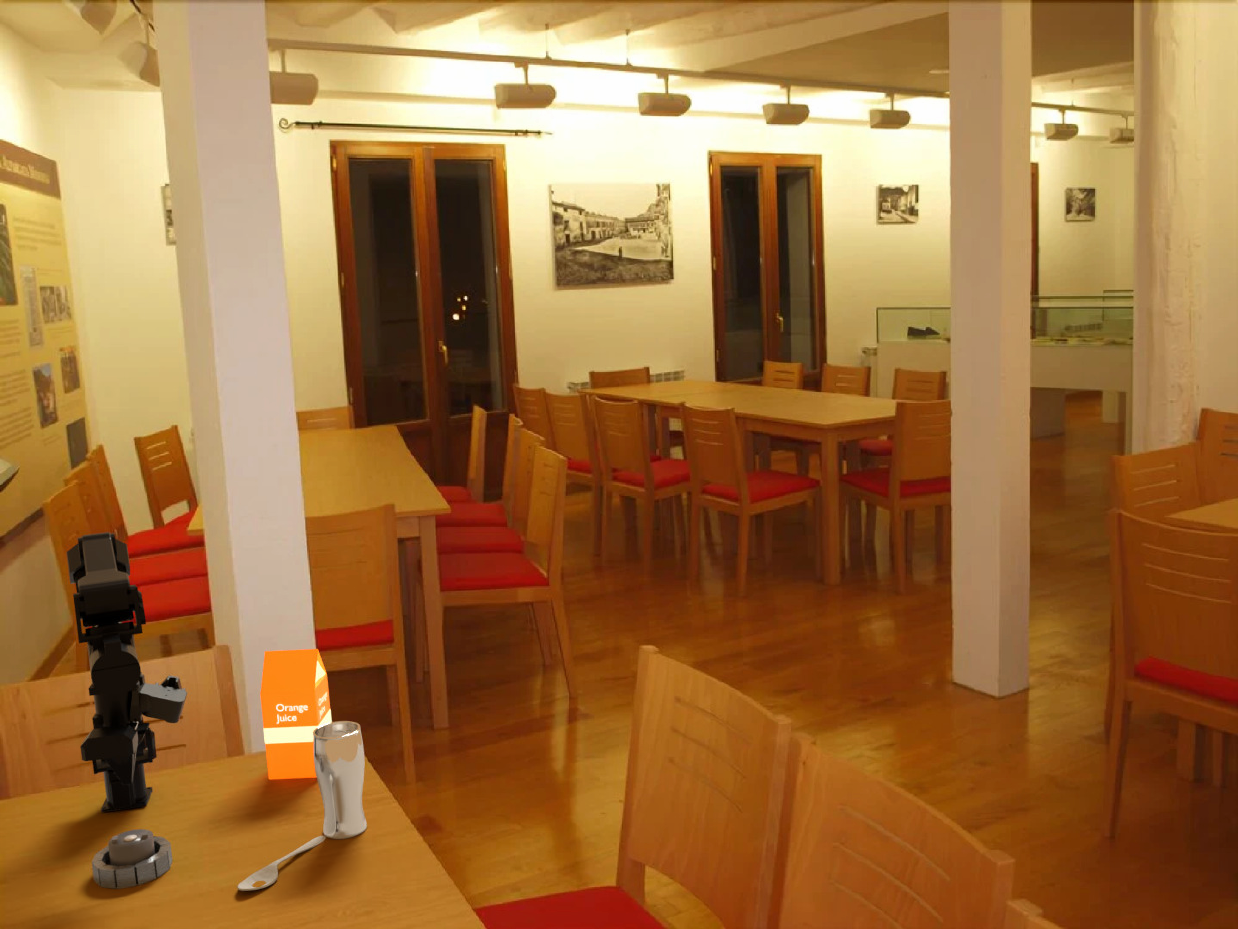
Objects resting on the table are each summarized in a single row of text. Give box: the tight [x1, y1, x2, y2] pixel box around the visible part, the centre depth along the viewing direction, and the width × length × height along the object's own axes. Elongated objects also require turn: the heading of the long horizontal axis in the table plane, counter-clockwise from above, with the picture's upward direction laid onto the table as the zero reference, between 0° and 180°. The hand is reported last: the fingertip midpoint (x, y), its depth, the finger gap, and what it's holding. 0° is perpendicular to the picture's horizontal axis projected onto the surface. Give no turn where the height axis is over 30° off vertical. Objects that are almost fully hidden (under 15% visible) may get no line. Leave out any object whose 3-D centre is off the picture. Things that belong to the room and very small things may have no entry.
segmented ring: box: [91, 835, 173, 890], centre depth 156 cm, size 10×10×2 cm
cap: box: [107, 828, 155, 866], centre depth 156 cm, size 6×6×5 cm
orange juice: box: [259, 648, 333, 780], centre depth 187 cm, size 8×9×20 cm
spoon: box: [236, 834, 327, 892], centre depth 157 cm, size 4×21×2 cm, turn 158°
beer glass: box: [313, 720, 368, 840], centre depth 164 cm, size 7×7×15 cm
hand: (128, 783), depth 156 cm, fingers closed
